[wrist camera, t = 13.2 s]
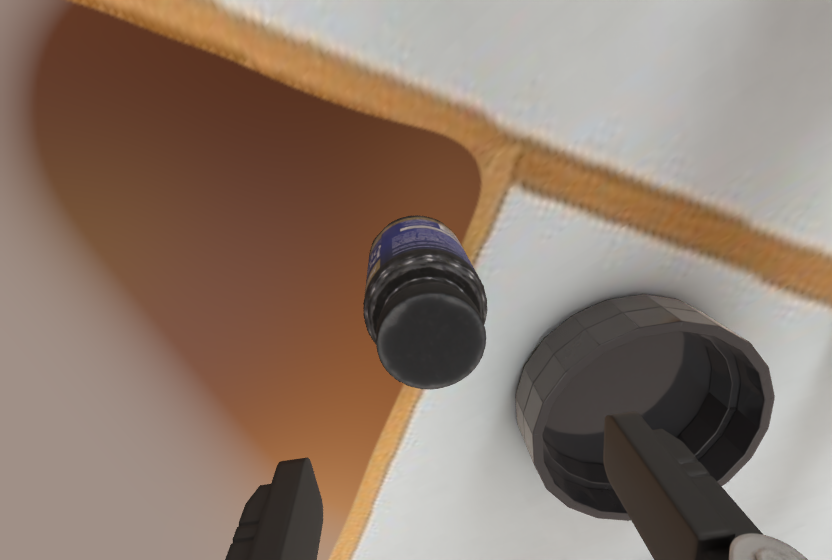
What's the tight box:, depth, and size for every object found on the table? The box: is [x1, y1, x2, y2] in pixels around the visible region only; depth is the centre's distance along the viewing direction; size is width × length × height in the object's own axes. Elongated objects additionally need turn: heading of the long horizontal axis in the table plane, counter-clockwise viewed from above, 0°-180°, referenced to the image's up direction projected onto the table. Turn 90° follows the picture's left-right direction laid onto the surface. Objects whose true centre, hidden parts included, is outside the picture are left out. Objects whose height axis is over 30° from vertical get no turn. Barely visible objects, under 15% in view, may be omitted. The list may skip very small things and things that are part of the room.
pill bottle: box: [364, 216, 487, 389], centre depth 23 cm, size 6×6×11 cm
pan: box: [515, 294, 775, 521], centre depth 31 cm, size 16×16×5 cm
